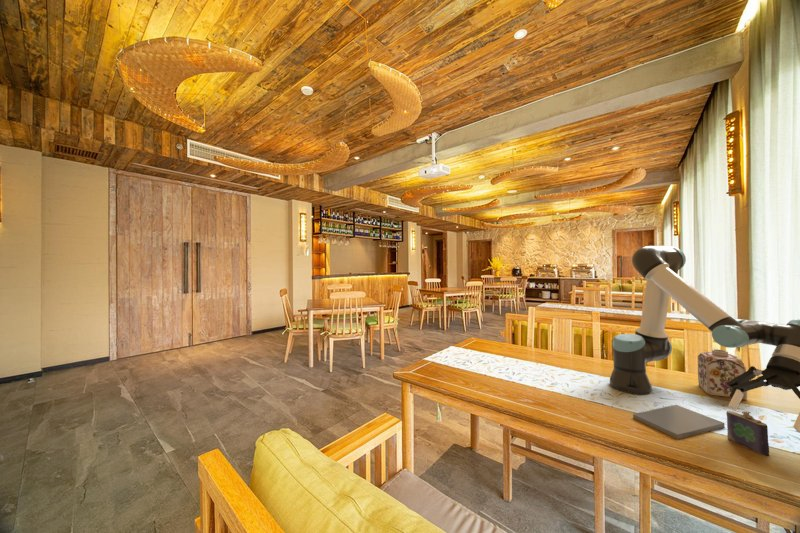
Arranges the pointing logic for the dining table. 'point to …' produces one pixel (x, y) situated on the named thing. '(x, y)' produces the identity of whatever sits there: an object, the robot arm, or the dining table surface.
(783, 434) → the dining table surface
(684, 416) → the slate board
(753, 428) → the flask
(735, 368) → the decorative jar
